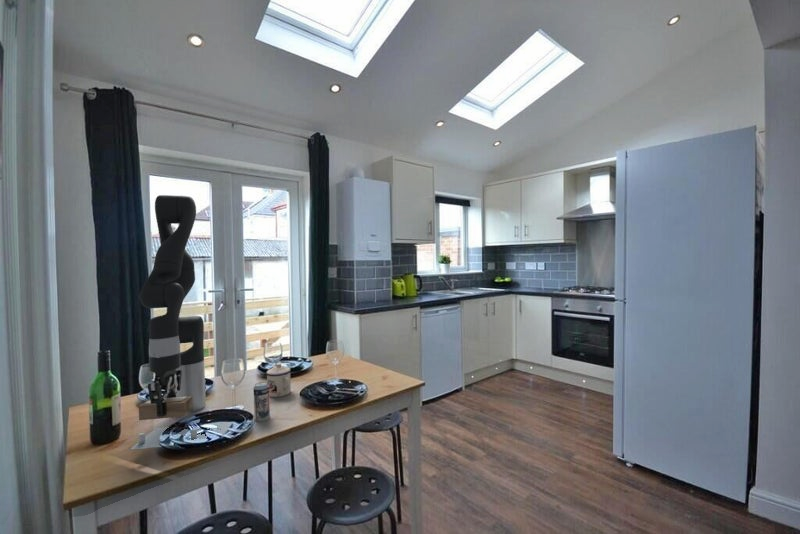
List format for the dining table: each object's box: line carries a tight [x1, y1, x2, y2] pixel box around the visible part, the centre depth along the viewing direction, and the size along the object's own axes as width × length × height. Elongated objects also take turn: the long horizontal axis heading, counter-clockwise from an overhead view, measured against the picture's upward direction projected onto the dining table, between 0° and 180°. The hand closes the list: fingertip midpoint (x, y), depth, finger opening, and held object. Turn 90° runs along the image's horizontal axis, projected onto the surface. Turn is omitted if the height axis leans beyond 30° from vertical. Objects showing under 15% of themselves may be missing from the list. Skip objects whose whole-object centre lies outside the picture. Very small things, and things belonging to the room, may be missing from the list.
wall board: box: [129, 421, 234, 451], centre depth 106 cm, size 13×23×4 cm, turn 97°
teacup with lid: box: [266, 363, 292, 398], centre depth 141 cm, size 12×9×12 cm
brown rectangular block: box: [138, 396, 193, 421], centre depth 103 cm, size 5×12×4 cm, turn 97°
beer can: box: [253, 381, 271, 422], centre depth 117 cm, size 5×5×12 cm
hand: (167, 411), depth 103 cm, fingers closed on brown rectangular block, 5 cm apart
